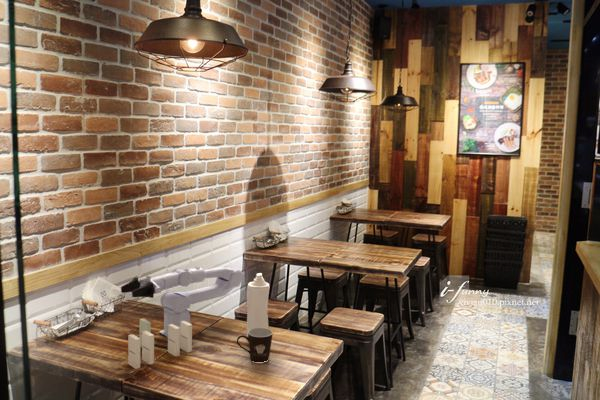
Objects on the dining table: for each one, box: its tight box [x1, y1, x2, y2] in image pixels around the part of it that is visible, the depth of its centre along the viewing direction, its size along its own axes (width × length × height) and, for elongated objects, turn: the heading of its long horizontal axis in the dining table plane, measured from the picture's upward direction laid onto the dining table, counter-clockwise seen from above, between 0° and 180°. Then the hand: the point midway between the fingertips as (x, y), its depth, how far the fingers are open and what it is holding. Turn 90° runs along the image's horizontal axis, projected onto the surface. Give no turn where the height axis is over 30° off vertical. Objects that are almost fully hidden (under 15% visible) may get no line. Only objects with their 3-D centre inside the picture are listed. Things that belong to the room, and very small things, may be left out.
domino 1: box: [127, 333, 141, 370], centre depth 170 cm, size 2×5×10 cm, turn 46°
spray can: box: [246, 272, 271, 337], centre depth 197 cm, size 12×11×25 cm
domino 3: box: [141, 331, 155, 365], centre depth 174 cm, size 2×5×10 cm, turn 46°
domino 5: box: [180, 321, 193, 353], centre depth 184 cm, size 2×5×10 cm, turn 46°
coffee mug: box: [236, 328, 274, 362], centre depth 179 cm, size 12×9×10 cm
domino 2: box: [138, 317, 152, 348], centre depth 185 cm, size 2×5×10 cm, turn 46°
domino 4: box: [167, 324, 181, 357], centre depth 181 cm, size 2×5×10 cm, turn 46°
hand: (126, 291), depth 183 cm, fingers open, 7 cm apart
